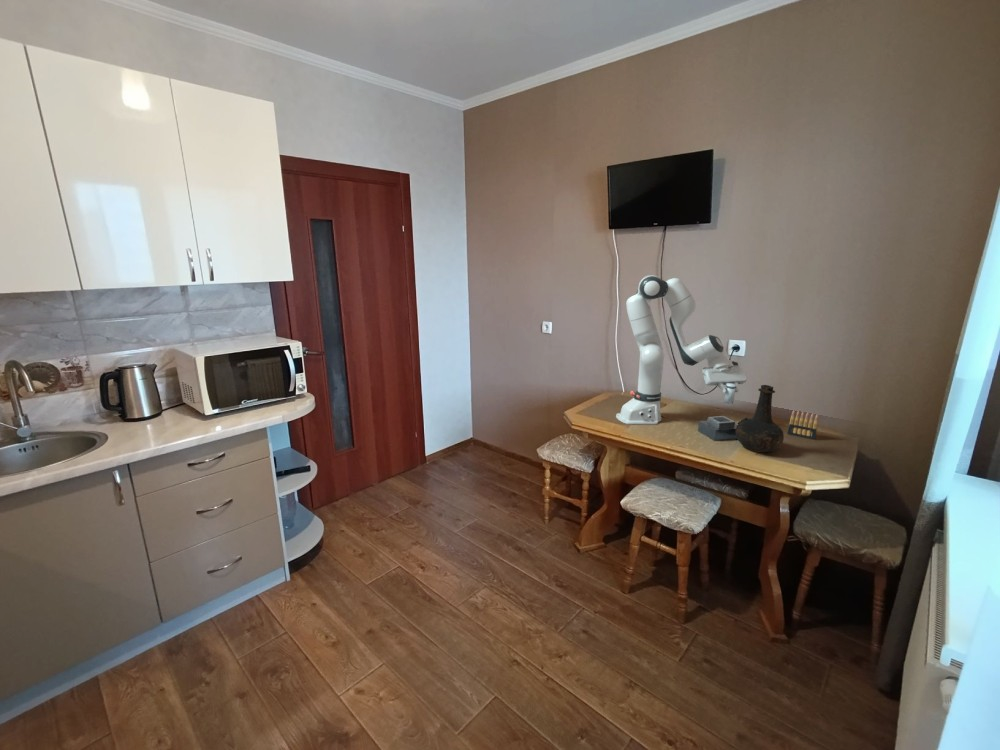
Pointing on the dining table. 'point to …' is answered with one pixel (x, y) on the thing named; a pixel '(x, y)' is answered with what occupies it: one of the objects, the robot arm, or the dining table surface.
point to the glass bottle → (760, 426)
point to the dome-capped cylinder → (730, 393)
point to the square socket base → (718, 428)
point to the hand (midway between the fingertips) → (731, 392)
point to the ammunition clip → (803, 426)
